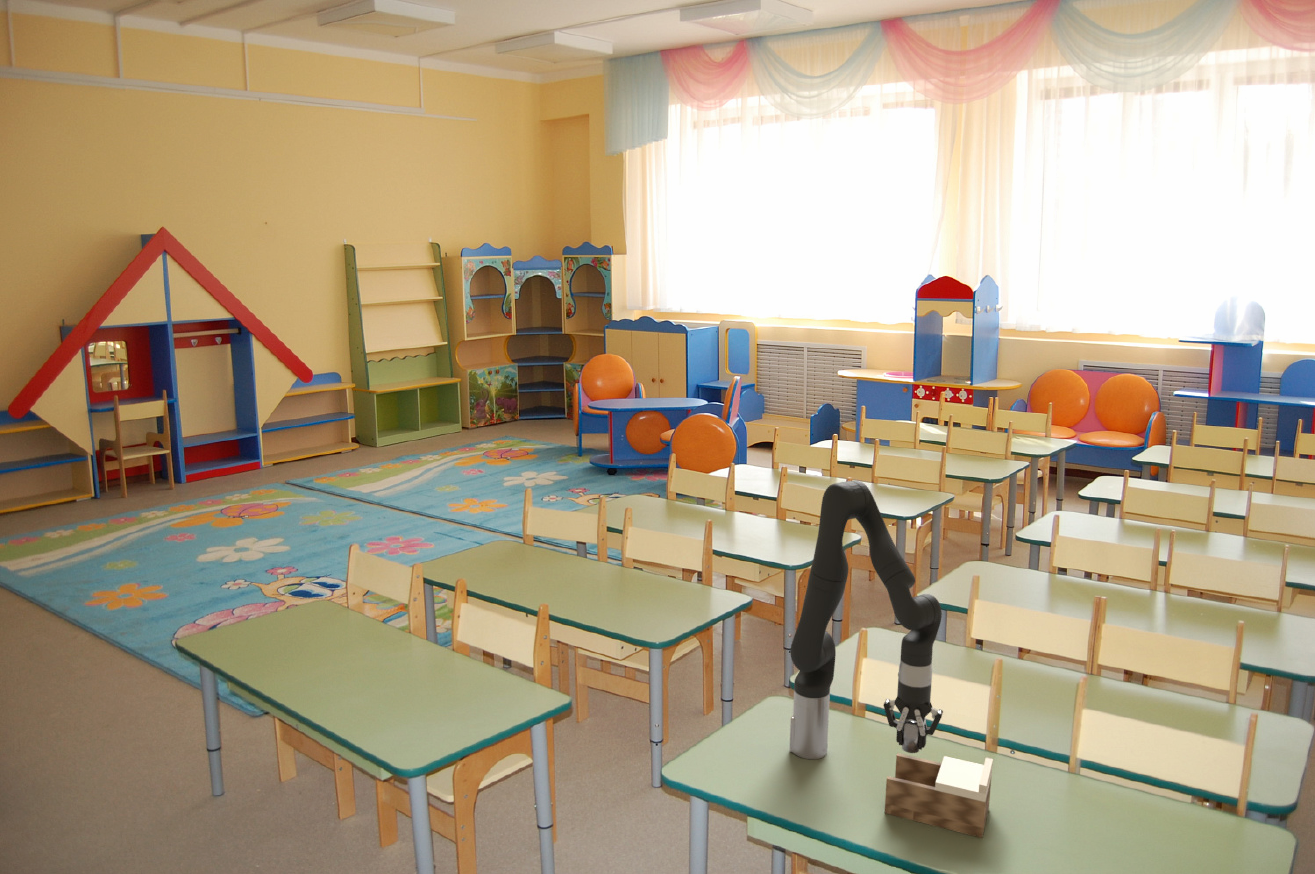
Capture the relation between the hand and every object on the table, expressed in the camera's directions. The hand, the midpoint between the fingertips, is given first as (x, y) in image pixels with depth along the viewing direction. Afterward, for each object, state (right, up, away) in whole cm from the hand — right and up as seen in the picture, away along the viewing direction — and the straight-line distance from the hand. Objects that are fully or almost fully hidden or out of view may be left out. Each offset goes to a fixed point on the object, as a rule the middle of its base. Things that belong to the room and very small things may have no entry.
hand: (910, 745), depth 226 cm
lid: (+11, -7, -4) cm, 14 cm away
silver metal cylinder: (0, -1, 0) cm, 1 cm away
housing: (+6, -15, 0) cm, 17 cm away
